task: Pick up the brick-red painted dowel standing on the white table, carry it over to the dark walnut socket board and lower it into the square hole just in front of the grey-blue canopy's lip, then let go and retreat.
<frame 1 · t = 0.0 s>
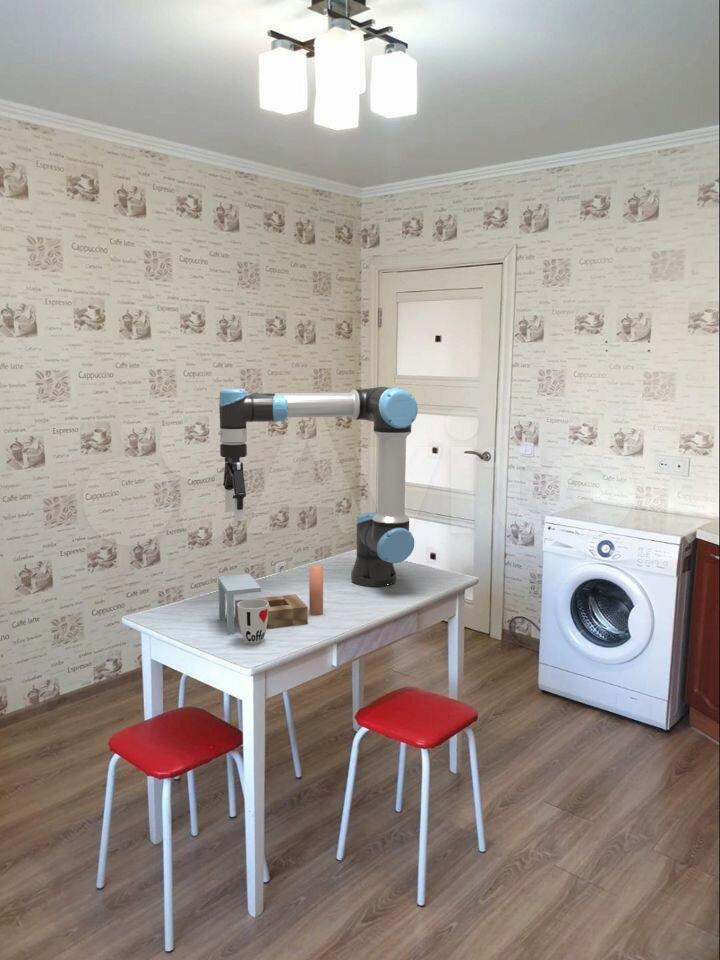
hand: (234, 515, 220), 28 cm above the table, fingers open, 13 cm apart
awning: (239, 624, 211), on the table
socket block: (271, 620, 214), on the table
dowel: (316, 613, 221), on the table
cup: (253, 640, 199), on the table
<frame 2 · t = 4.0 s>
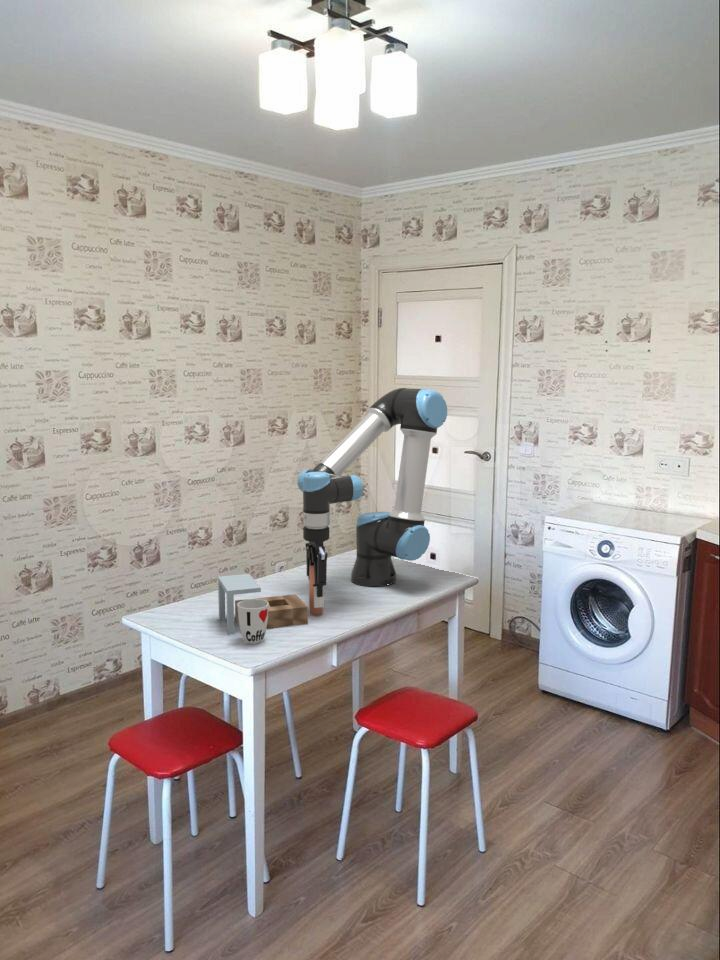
hand: (316, 604, 220), 3 cm above the table, fingers closed on dowel, 4 cm apart
dowel: (316, 613, 221), on the table, touching gripper
everything else where it was.
when the fingers open (6 cm above the table, at t = 8.9 s): dowel drops 2 cm, resting in socket block.
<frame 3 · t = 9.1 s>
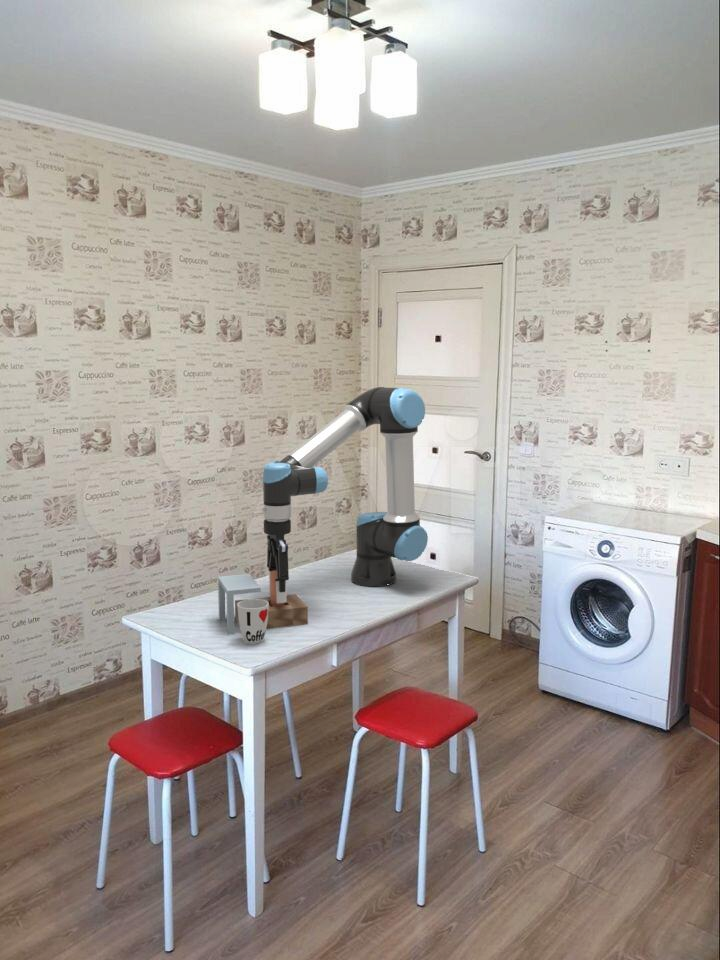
hand: (277, 598, 214), 6 cm above the table, fingers open, 7 cm apart
dowel: (277, 619, 215), resting in socket block
everything else where it was.
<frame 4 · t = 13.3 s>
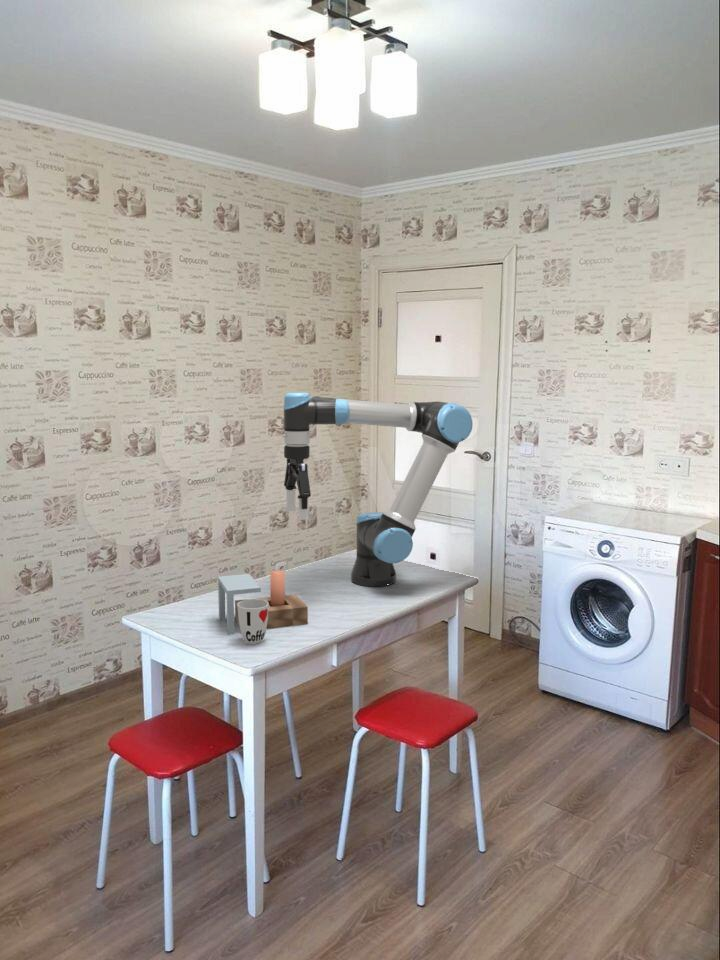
hand: (297, 515, 228), 27 cm above the table, fingers open, 13 cm apart
nothing on the table moved.
at the end: dowel 0.0 cm from the target spot on the socket block, point 0.0 cm above the socket block's base; dowel tilted 0°; the gripper is holding nothing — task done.
